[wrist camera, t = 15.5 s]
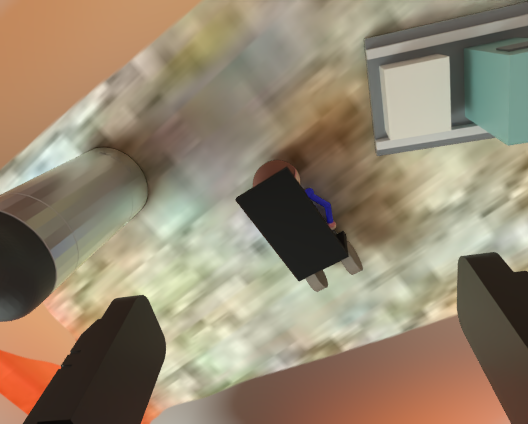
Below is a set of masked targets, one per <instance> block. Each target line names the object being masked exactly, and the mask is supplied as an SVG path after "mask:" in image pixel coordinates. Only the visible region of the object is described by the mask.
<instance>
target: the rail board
mask: <svg viewBox="0 0 528 424" xmlns="http://www.w3.org/2000/svg"><path fill="white" fill-rule="evenodd" d="M515 37H517V38H528V1H527V2H523V3H519V4H514V5H510V6H506V7H501V8H497V9H492V10H488V11H484V12H479V13H475V14H470V15H466V16H462V17H457V18H453V19H449V20H444V21H440V22H435V23H431V24H427V25H422V26H418V27H414V28H409V29H405V30H400V31H396V32H392V33H387V34H383V35H379V36H374V37H370V38H365V39H364V47H365V56H366V66H367V75H368V85H369V94H370V103H371V113H372V122H373V132H374V141H375V150H376V154H377V156H381V155H387V154H394V153H400V152H406V151H413V150H419V149H426V148H432V147H438V146H445V145H451V144H458V143H464V142H470V141H477V140H483V139H490V138H496V137H494V136H493V135H491V134H490V133H489V132H487V131H486V130H484V129H483V128H481V127H480V126H478V125H477V124H475V123H474V122H472V121H471V120H469V119H468V118H466V117H465V91H464V48H468V47H473V46H478V45H482V44H487V43H492V42H496V41H501V40H505V39H510V38H515ZM433 54H441V55H445V56H449V62H450V100H451V131H446V132H440V133H433V134H427V135H421V136H415V137H409V138H403V139H397V140H391V141H390V139H389V137H388V135H387V133H386V131H385V124H384V113H383V103H382V92H381V82H380V71H379V66H381V65H386V64H391V63H395V62H400V61H405V60H410V59H414V58H419V57H424V56H429V55H433Z"/></svg>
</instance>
